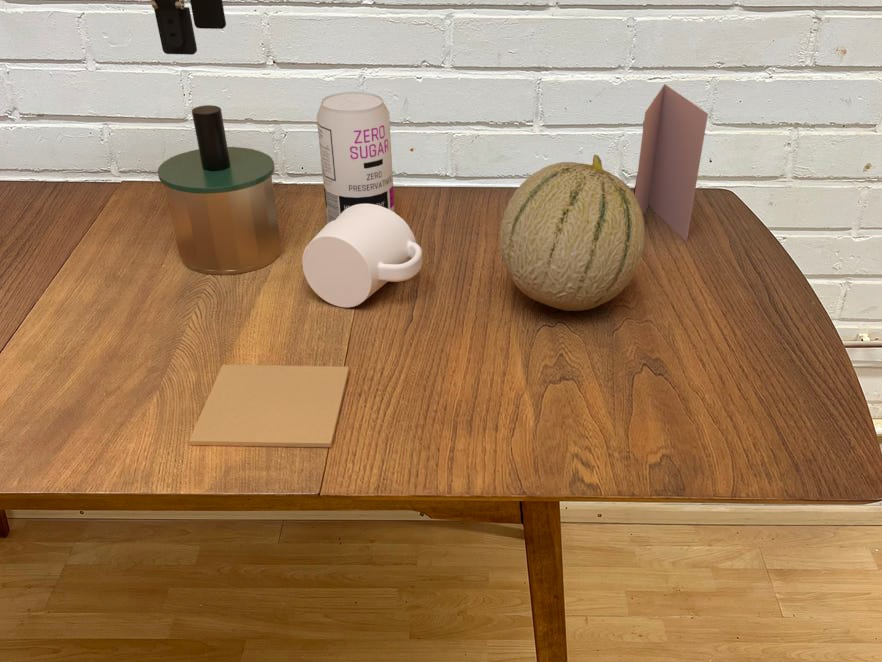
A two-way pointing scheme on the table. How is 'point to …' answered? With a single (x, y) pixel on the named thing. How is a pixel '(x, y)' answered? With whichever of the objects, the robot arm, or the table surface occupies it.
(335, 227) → the mug
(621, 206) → the cantaloupe
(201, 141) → the tin lid
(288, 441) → the cork mat
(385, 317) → the table surface
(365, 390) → the table surface
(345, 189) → the supplement can
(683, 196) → the greeting card
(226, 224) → the tin
